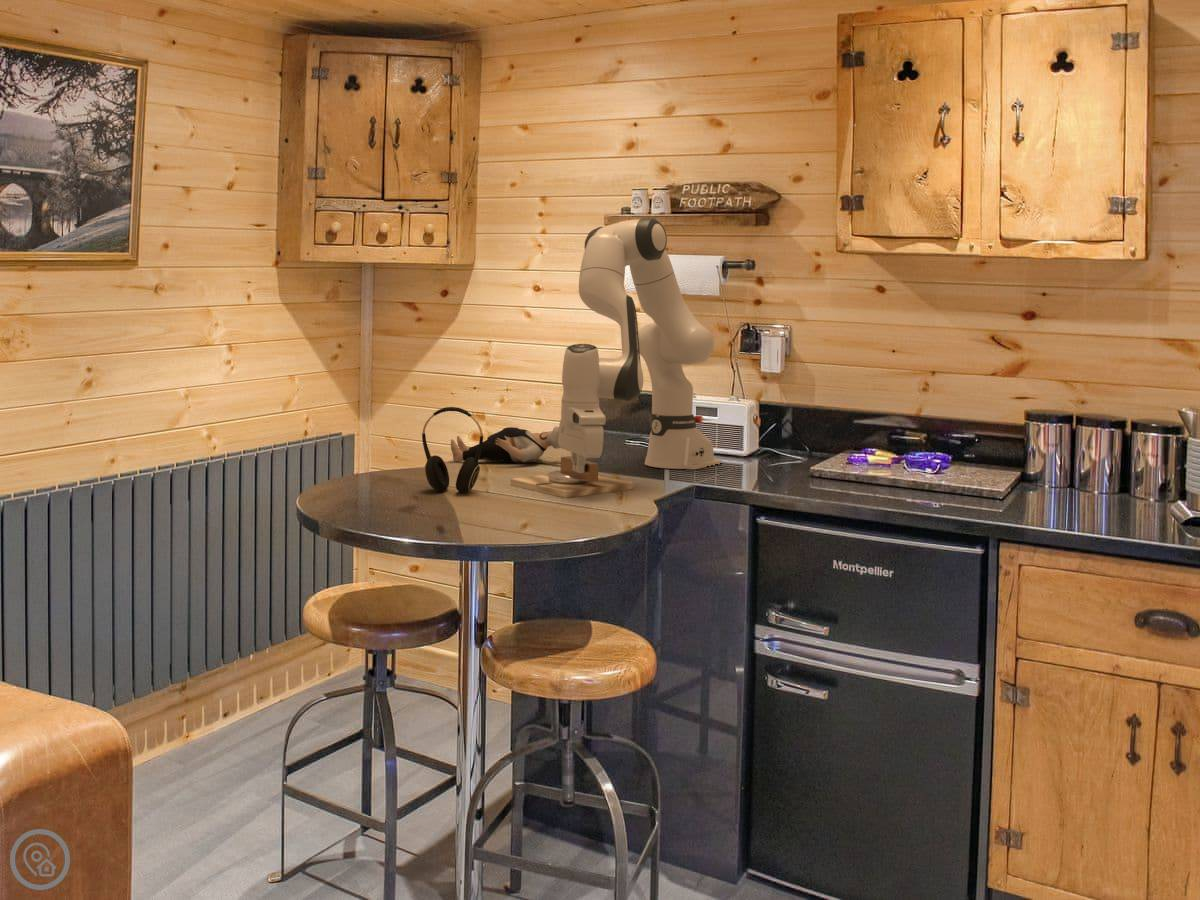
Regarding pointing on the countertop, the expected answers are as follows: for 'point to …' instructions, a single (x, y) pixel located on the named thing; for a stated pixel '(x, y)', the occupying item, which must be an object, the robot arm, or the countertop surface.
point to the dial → (571, 476)
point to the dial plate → (570, 486)
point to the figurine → (509, 446)
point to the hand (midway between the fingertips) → (578, 472)
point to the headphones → (438, 469)
